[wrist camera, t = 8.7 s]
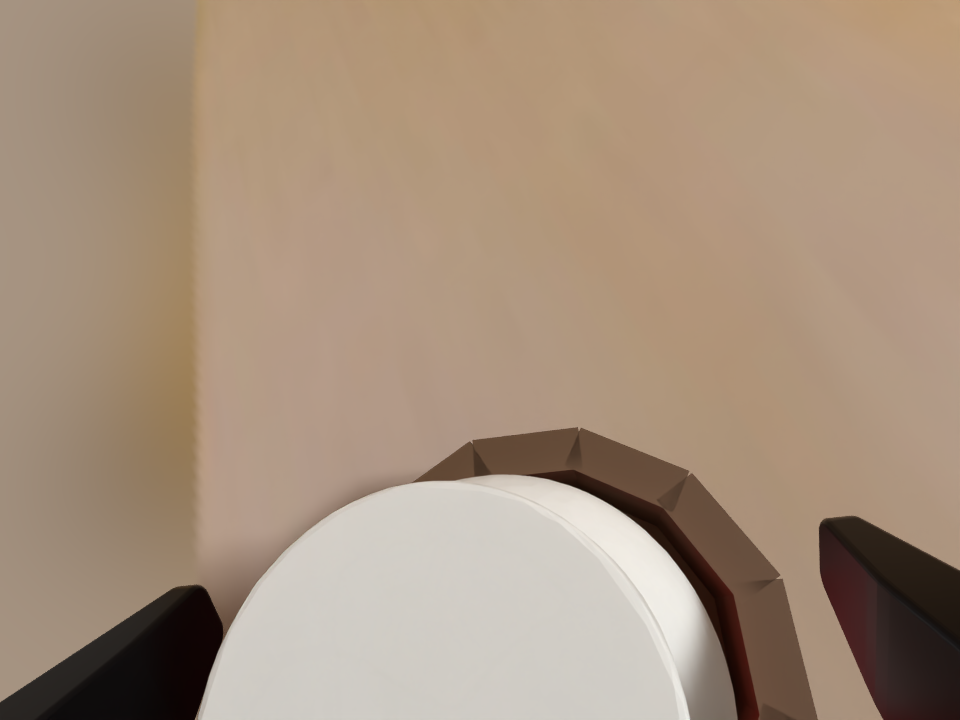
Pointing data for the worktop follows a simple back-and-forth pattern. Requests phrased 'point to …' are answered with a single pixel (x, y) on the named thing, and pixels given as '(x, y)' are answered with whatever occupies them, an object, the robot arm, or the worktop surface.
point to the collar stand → (673, 551)
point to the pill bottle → (472, 615)
